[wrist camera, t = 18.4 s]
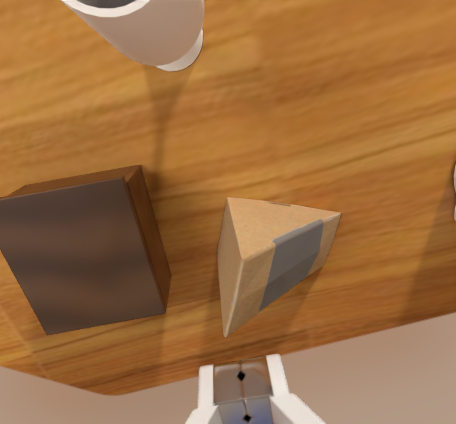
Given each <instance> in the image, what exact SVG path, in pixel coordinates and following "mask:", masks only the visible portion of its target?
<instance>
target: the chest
mask: <svg viewBox="0 0 456 424" xmlns="http://www.w3.org/2000/svg"><path fill="white" fill-rule="evenodd" d="M122 175H124V177H125V180H126V183H127V187H128V190H129V193H130V196H131V199H132V202H133V206H134V209H135V212H136V215H137V218H138V222H139V225H140V228H141V231H142V234H143V237H144V241H145V244H146V247H147V250H148V253H149V257H150V260H151V263H152V266H153V269H154V272H155V276H156V279H157V282H158V285H159V288H160V292H161V295H162V298H163V301H164V304H165V307H166V305H167V299H168V293H169V287H170V280H171V272H170V269H169V265H168V261H167V258H166V254H165V251H164V247H163V244H162V240H161V236H160V233H159V229H158V226H157V222H156V219H155V215H154V212H153V208H152V204H151V201H150V197H149V194H148V190H147V187H146V183H145V179H144V176H143V172H142V169H141V165H135V166H129V167H124V168H118V169H113V170H107V171H102V172H96V173H90V174H85V175H79V176H74V177H68V178H63V179H57V180H51V181H46V182H40V183H35V184H29V185H25V186H23V187H21V188H20V189H18V190H16V191H15V192H13V193H11V194H9V195H8V196H11V195H16V194H22V193H28V192H33V191H39V190H44V189H50V188H55V187H61V186H67V185H72V184H78V183H83V182H89V181H94V180H100V179H106V178H111V177H117V176H122Z"/></svg>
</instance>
